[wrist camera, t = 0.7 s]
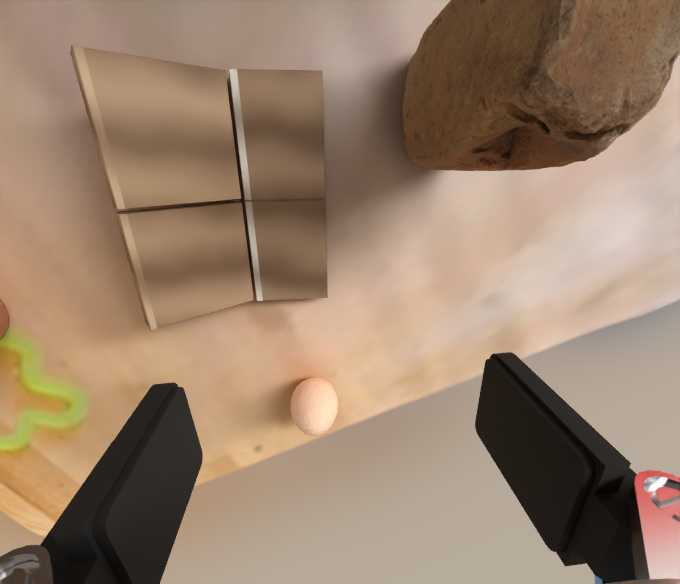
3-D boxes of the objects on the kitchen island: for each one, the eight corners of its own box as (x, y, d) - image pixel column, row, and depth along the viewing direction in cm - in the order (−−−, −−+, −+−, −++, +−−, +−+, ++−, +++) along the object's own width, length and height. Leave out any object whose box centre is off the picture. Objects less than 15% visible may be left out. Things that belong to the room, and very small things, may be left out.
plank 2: (114, 211, 26) (118, 214, 24) (233, 201, 31) (242, 203, 30) (146, 322, 30) (150, 330, 28) (246, 294, 35) (254, 300, 34)
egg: (295, 404, 43) (293, 452, 36) (288, 370, 41) (284, 414, 34) (337, 398, 43) (343, 444, 36) (332, 363, 41) (337, 406, 34)
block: (410, 32, 28) (608, -212, 9) (489, 47, 29) (805, -145, 10) (388, 163, 32) (496, 171, 14) (457, 173, 33) (645, 192, 15)
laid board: (234, 75, 28) (228, 68, 26) (321, 76, 28) (322, 70, 27) (259, 293, 36) (256, 300, 34) (326, 290, 37) (327, 297, 35)
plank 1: (70, 52, 21) (71, 45, 20) (216, 74, 27) (225, 70, 26) (113, 206, 25) (117, 209, 24) (233, 197, 31) (241, 198, 30)
